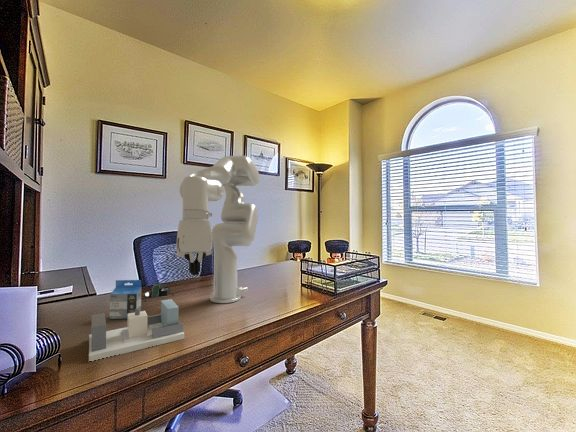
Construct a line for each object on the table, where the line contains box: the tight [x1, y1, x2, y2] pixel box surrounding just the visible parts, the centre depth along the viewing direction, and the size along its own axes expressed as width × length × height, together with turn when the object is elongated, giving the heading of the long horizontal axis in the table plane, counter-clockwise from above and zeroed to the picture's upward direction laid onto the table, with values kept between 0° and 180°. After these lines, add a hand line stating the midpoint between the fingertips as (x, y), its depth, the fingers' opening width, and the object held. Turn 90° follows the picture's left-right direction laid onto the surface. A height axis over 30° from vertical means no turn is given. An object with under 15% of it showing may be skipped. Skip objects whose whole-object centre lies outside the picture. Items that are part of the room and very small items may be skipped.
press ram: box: [160, 298, 180, 326], centre depth 83 cm, size 3×9×7 cm, turn 35°
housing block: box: [126, 309, 148, 337], centre depth 78 cm, size 4×4×6 cm
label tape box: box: [109, 279, 142, 320], centre depth 94 cm, size 9×4×12 cm, turn 95°
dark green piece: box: [144, 282, 175, 298], centre depth 122 cm, size 15×15×6 cm
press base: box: [88, 323, 185, 362], centre depth 78 cm, size 22×14×2 cm, turn 125°
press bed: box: [91, 312, 184, 352], centre depth 78 cm, size 22×11×6 cm, turn 125°
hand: (194, 274), depth 87 cm, fingers closed
